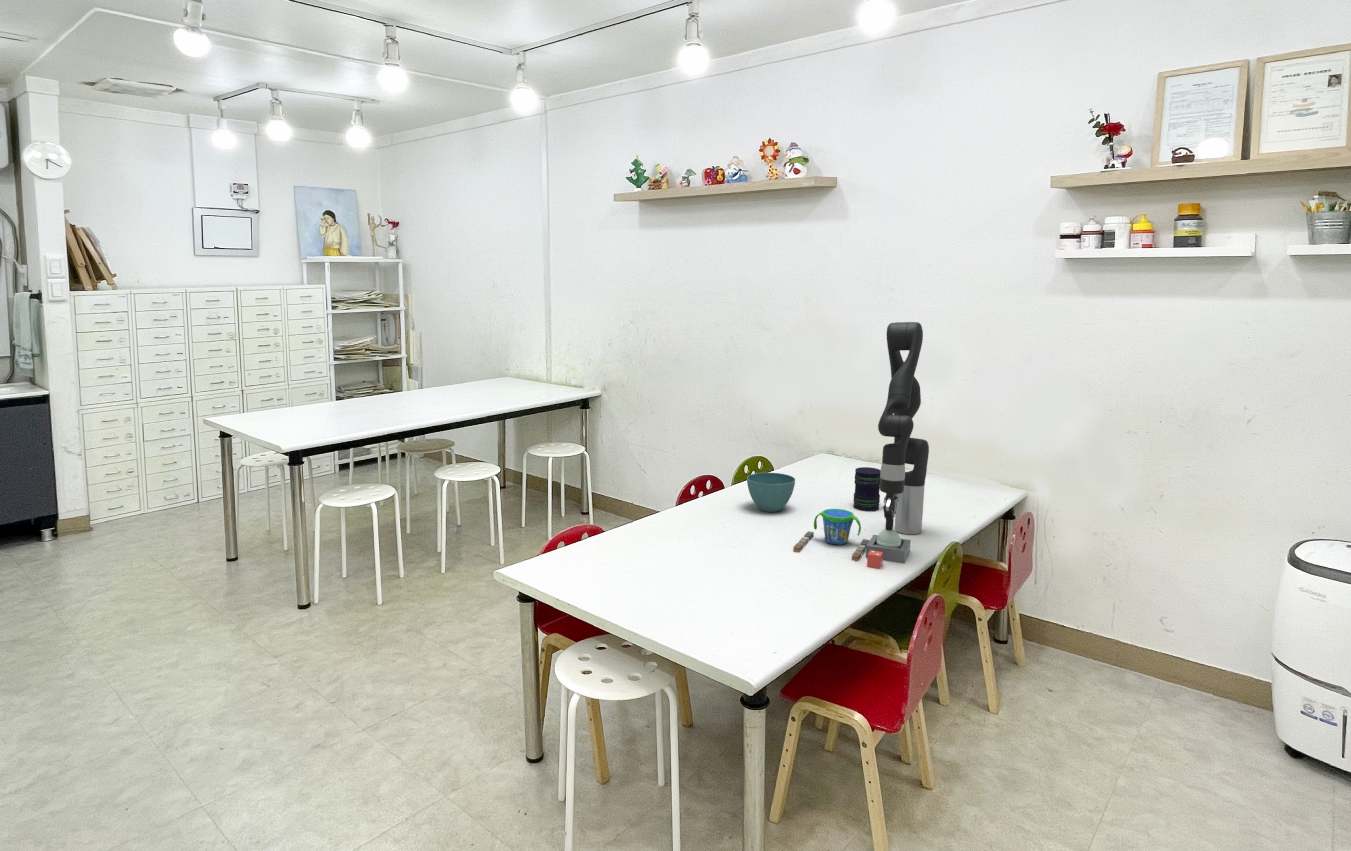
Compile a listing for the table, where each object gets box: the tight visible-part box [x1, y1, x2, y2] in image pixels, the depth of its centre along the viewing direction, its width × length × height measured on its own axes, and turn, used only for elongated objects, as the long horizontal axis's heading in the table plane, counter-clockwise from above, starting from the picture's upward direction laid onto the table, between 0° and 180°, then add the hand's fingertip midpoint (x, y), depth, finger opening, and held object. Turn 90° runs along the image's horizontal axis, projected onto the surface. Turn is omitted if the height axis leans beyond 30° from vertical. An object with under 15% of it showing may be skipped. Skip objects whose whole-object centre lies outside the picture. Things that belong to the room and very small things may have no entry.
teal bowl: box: [746, 472, 796, 513], centre depth 310 cm, size 18×18×12 cm
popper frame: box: [865, 534, 912, 564], centre depth 262 cm, size 12×12×4 cm
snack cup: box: [813, 508, 862, 546], centre depth 273 cm, size 16×10×10 cm
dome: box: [876, 528, 901, 549], centre depth 261 cm, size 8×8×7 cm
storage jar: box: [853, 466, 881, 512], centre depth 313 cm, size 10×10×15 cm
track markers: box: [792, 530, 870, 562], centre depth 268 cm, size 18×21×2 cm
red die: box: [866, 550, 884, 569], centre depth 252 cm, size 4×4×4 cm
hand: (889, 529), depth 261 cm, fingers closed
